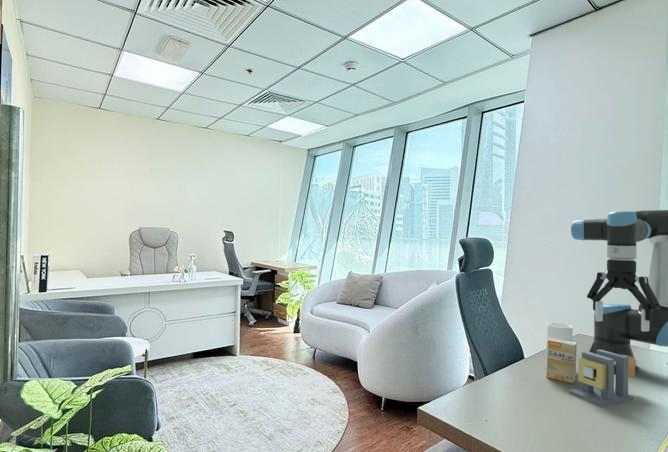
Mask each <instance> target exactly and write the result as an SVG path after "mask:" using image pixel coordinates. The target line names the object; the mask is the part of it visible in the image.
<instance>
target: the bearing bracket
mask: <svg viewBox="0 0 668 452" xmlns="http://www.w3.org/2000/svg"><path fill="white" fill-rule="evenodd" d="M581 358H586V359H589V360H593V361H596V362H599V363H602V364H606V365H607V379H606V389H603V390H602V389H599V388H596V387H593V386H591V385H588V384H585V383H583V382H580V383H581V386H580V387H577V388H573V389H569V390H568V394H570V395H572V396H575V397H577V398H580V399H582V400H584V401H588V402H590V403H593V404H594V403H595V404H594V405H596V406H599V405H600V406H599V407H601V406H602V407H601V408H604V406H606V407H609V406H608V405H610V406H613V405H612V404H614V405H618V404H622V403H627V402H632V401H635V396H634V395H631V394H629V378H628V365H629V357H626V356H623V355H619V354H616V353H612V352H608V351H605V350H596V354H594V353H591V352H589V351H581ZM614 361H616V375H614ZM617 403H618V404H617Z"/></svg>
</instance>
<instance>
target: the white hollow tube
mask: <svg viewBox="0 0 668 452" xmlns="http://www.w3.org/2000/svg"><path fill="white" fill-rule="evenodd" d="M573 331H574V330H573V325H570V324H566V323H562V322H561V323H559V322H547V323H546V344H545V345H546V350H545V351H546V355H545V357H546V358H545V367H546V368H547V344H548V339H549V338H553V339H558V340H564V341H569V342H573Z"/></svg>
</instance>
